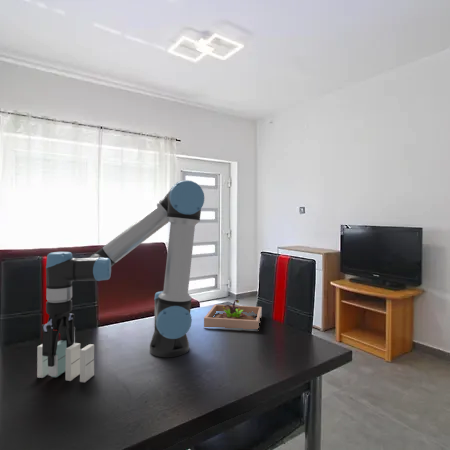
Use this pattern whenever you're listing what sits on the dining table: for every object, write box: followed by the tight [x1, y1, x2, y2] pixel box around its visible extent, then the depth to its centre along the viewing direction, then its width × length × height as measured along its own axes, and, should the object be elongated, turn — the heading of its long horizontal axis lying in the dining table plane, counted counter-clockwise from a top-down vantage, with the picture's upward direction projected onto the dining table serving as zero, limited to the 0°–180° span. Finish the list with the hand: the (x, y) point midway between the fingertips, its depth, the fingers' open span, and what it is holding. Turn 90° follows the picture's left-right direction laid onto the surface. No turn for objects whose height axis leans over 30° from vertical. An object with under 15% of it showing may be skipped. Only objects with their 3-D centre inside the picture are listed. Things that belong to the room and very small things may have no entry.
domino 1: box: [50, 339, 67, 378], centre depth 106 cm, size 2×5×10 cm, turn 170°
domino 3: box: [79, 343, 95, 383], centre depth 105 cm, size 2×5×10 cm, turn 170°
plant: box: [212, 299, 256, 320], centre depth 165 cm, size 20×20×11 cm
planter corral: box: [203, 304, 263, 329], centre depth 164 cm, size 25×25×5 cm
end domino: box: [36, 343, 48, 379], centre depth 107 cm, size 2×5×10 cm, turn 170°
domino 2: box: [64, 342, 81, 382], centre depth 105 cm, size 2×5×10 cm, turn 170°
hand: (59, 371), depth 106 cm, fingers closed on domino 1, 5 cm apart
